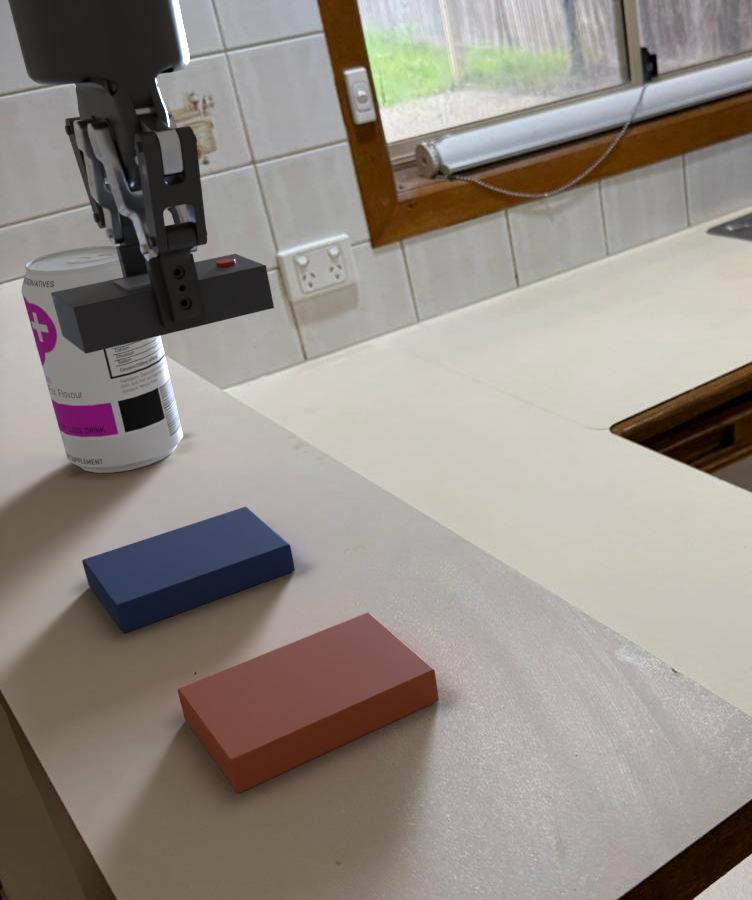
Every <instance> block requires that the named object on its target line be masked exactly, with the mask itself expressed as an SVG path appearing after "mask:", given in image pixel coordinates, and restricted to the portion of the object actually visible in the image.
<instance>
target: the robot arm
mask: <svg viewBox="0 0 752 900" xmlns="http://www.w3.org/2000/svg"><path fill="white" fill-rule="evenodd" d="M7 2H8V5H9V9H10V13H11V17H12V20H13V21H12V22H13V24H14V28H15V32H16V35H17V39H18V44H19V47H20V51H21V54H22V59H23V63H24V66H25V70H26V74H27V75H28V77H29V78H30V79H31V80H32V82H34V83H36V84H39V85H49V86H50V85H51V86H54V85H57V86H58V85H75V94H76V101H77V111H78V116H74V117H67V118H65V121H64V122H65V125H64V130H65V133H66V135H67V136H68V139H69V142H70V145H71V148H72V151H73V154H74V157H75V160H76V163H77V166H78V170H79V172H80V176H81V179H82V182H83V185H84V188H85V191H86V194H87V197H88V201H89V204H90V207H91V210H92V217H93V221H94V222H95V223H96V224H97V226H98V228H99V229H105V235H106V238H107V239H108V240H109V242H110V244H111V245H113V246H117V247H116V249H117V253H118V258H119V262H120V266H121V270H122V274H123V277H128V276H132V275H137V274H142V273H146V272H148V275H149V279H150V284H151V288H152V292H153V296H154V300H155V304H156V309H157V313H158V317H159V321H160V324H161V325H162V327H164V328H165V329H167V330H169V331H173V333H175V332H174V331H177V332H180V331H179V330H182V331H184V330H183V329H186V330H188V329H187V328H190V329H192V328H191V327H194V328H196V327H195V326H198V327H200V326H199V325H201V324H203V323H204V321H205V320H206V312H205V308H204V303H203V299H202V294H201V290H200V285H199V281H198V276H197V271H196V267H195V262H196V261H195V258H194V252H195V253H196V252H197V251H198V247H199V246H204V245H207V244H208V230H207V223H206V216H205V215H206V214H205V207H204V197H203V188H202V179H201V172H200V163H199V153H198V140H197V135H196V134H195V133H194V130H193V128H192V127H191V126H189V125H186V126H180V127H177V124H176V120H175V118H174V116H173V114H172V113H171V112H168V110H167V108H166V105H165V103H164V100H163V97H162V94H161V91H160V88H159V86H158V85H157V84H158V81H157V78H158V76H159V75H161V74H162V75H163V74H171V73H175V72H179V71H182V70H184V69H186V68H187V66H189V63H190V61H191V60H190V59H191V58H190V52H189V51H190V50H189V47H188V42H187V37H186V31H185V28H184V23H183V19H182V13H181V8H180V3H179V0H7ZM106 182H108V183H106ZM165 211H168V212H169V213H170V214H171V217H172V221H173V223H172V224H168V225H166V224H165V217H164V212H165Z"/></svg>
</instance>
